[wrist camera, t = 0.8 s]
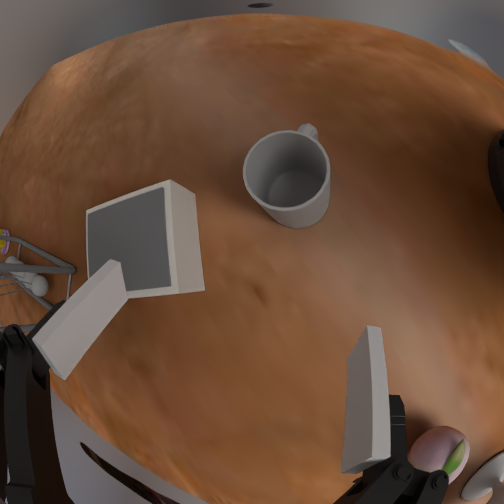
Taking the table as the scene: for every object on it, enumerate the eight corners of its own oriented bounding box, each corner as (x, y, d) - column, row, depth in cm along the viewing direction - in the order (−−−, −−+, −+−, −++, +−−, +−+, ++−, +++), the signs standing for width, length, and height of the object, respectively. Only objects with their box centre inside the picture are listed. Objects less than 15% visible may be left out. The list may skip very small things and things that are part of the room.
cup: (256, 217, 31) (229, 195, 22) (286, 141, 30) (271, 99, 22) (317, 239, 29) (313, 224, 20) (344, 158, 28) (348, 117, 20)
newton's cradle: (14, 278, 46) (-42, 276, 29) (19, 237, 47) (-38, 228, 30) (75, 326, 38) (-10, 337, 21) (81, 268, 38) (-10, 262, 21)
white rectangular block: (195, 193, 33) (168, 178, 27) (205, 290, 32) (177, 293, 25) (115, 218, 37) (84, 209, 30) (120, 299, 35) (87, 301, 29)
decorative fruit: (435, 463, 21) (453, 505, 11) (386, 465, 23) (396, 514, 14) (464, 409, 21) (496, 445, 12) (414, 409, 23) (438, 454, 14)
